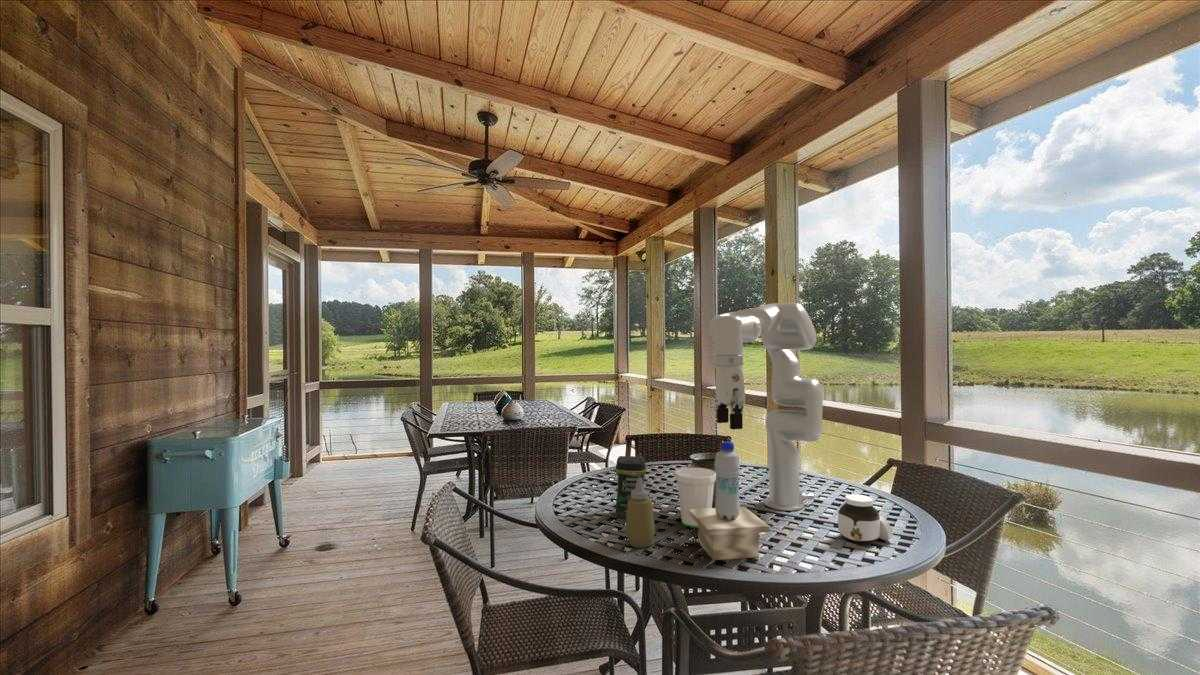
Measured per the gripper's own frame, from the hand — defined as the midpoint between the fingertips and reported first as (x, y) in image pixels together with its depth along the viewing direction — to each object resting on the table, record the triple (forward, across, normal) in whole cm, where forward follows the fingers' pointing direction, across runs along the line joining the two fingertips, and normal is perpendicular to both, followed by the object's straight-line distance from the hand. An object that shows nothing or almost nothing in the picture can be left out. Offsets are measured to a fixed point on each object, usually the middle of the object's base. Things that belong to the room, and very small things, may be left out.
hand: (729, 425), depth 145 cm
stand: (+32, -2, +2) cm, 32 cm away
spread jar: (+33, -1, -38) cm, 50 cm away
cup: (+33, +19, +4) cm, 38 cm away
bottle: (+24, -2, +2) cm, 24 cm away
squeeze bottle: (+32, +5, +24) cm, 40 cm away
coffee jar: (+33, +29, +22) cm, 49 cm away
